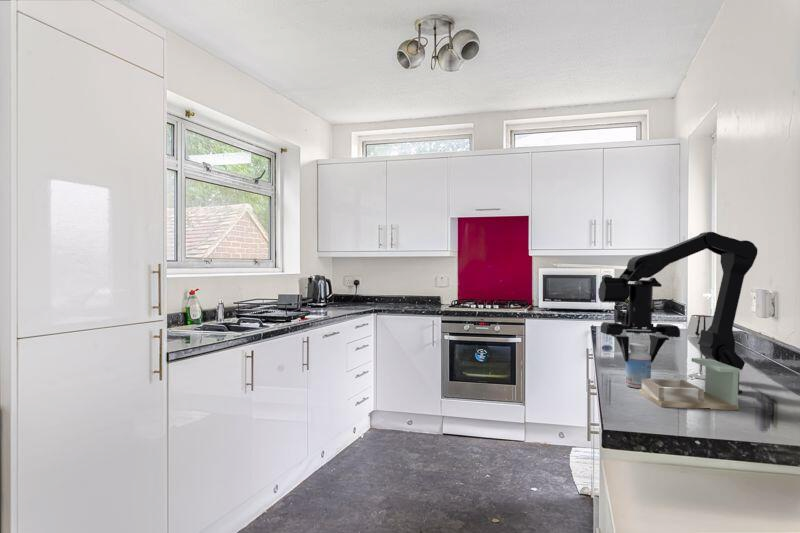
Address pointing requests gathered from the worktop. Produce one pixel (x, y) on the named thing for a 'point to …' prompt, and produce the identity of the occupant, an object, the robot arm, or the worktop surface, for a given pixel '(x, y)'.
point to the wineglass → (698, 335)
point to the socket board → (681, 395)
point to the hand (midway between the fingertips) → (638, 361)
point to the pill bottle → (638, 365)
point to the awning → (720, 380)
